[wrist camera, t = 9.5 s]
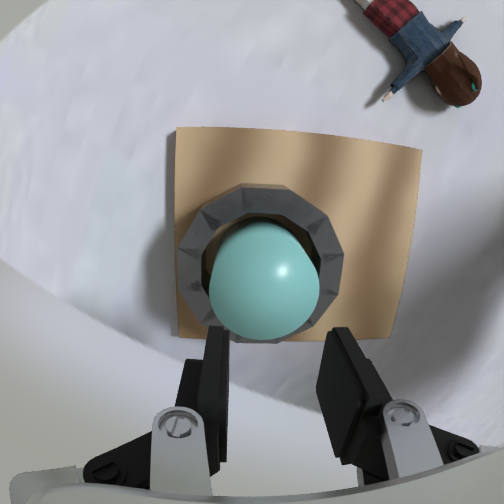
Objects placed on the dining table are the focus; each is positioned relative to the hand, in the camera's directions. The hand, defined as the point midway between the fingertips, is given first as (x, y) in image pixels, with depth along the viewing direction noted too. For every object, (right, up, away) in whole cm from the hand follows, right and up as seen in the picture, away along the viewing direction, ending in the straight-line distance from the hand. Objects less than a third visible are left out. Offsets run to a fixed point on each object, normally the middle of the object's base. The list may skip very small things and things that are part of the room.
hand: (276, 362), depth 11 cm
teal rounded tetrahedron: (0, +4, +12) cm, 12 cm away
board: (+3, +5, +12) cm, 14 cm away
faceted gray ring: (0, +4, +12) cm, 12 cm away
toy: (+11, +22, +8) cm, 26 cm away
